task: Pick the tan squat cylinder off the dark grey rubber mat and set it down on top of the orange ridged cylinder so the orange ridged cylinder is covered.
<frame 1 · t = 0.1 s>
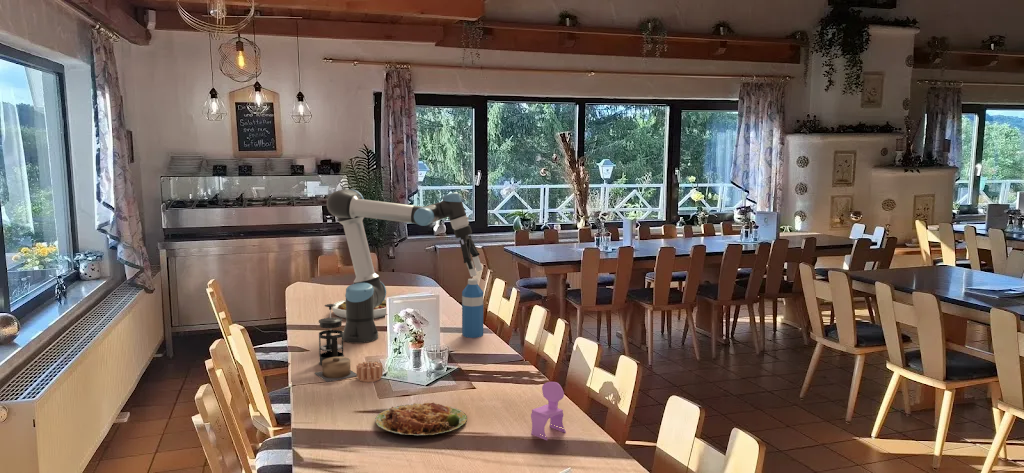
hand: (476, 273, 317), 28 cm above the table, tool tilted 20°, fingers open, 13 cm apart
toy chair: (548, 434, 212), on the table
bowl 2: (363, 314, 361), on the table
water bottle: (472, 335, 321), on the table
tan squat cylinder: (336, 373, 265), resting on mat
mat: (336, 374, 265), on the table
rice dish: (421, 424, 220), on the table
orange ridged cylinder: (369, 378, 261), on the table
french press: (332, 363, 279), on the table
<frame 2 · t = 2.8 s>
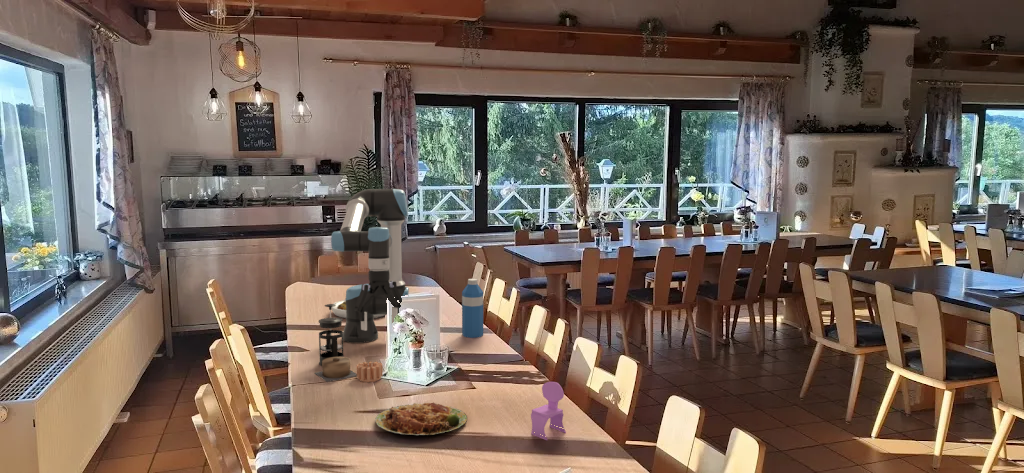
hand: (379, 327, 265), 17 cm above the table, tool pointing down, fingers open, 13 cm apart
nothing on the table moved.
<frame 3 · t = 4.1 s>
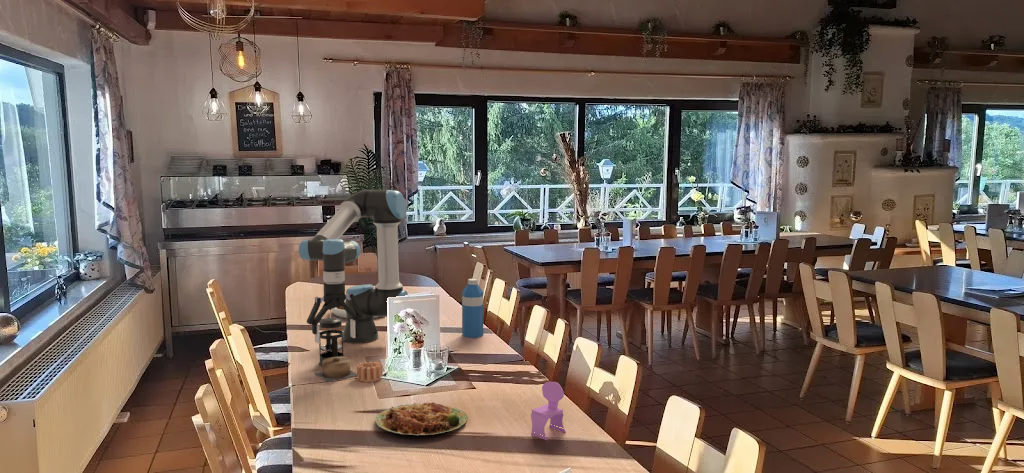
hand: (335, 339, 263), 13 cm above the table, tool pointing down, fingers open, 13 cm apart
nothing on the table moved.
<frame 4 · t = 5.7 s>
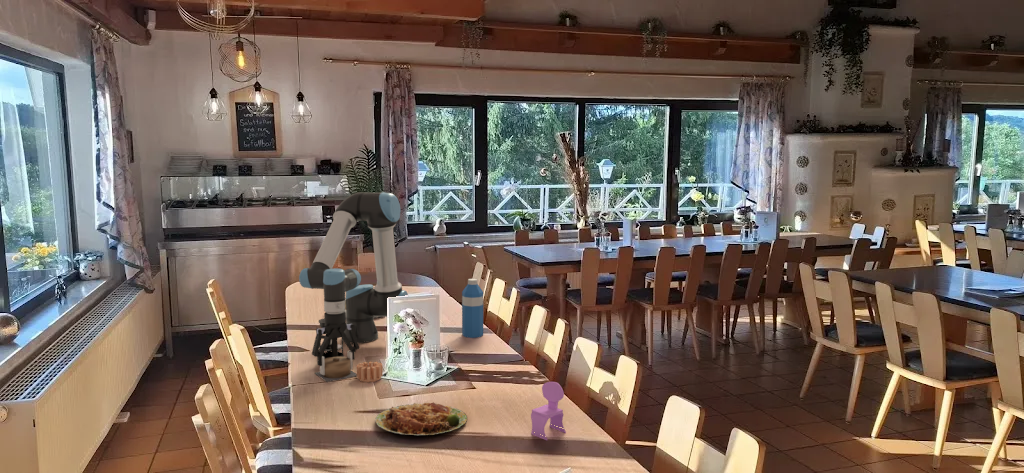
hand: (336, 371, 265), 1 cm above the table, tool pointing down, fingers closed on tan squat cylinder, 10 cm apart
tan squat cylinder: (336, 373, 265), resting on mat, touching gripper
everything else where it was.
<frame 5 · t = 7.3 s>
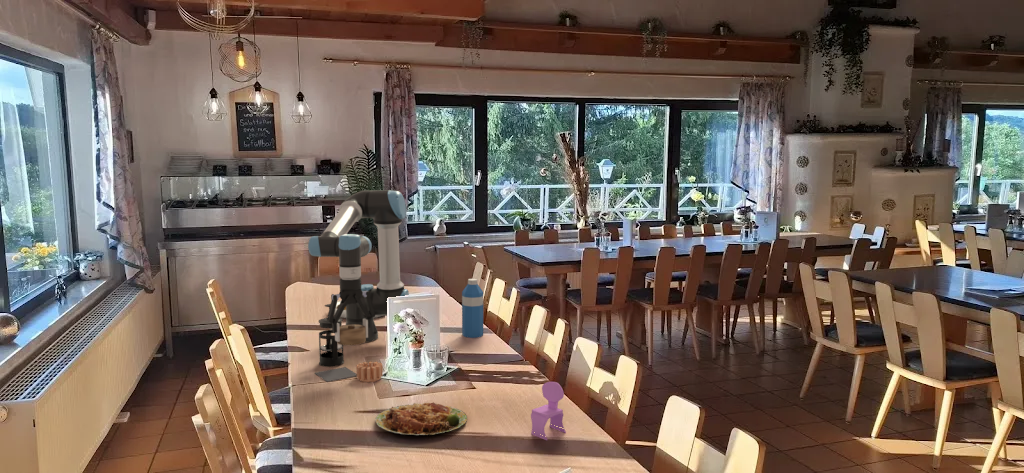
hand: (351, 338, 261), 14 cm above the table, tool pointing down, fingers closed on tan squat cylinder, 10 cm apart
tan squat cylinder: (351, 341, 261), point 13 cm above the table, touching gripper
everything else where it was.
when the fingers open (7 cm above the table, at t = 9.1 s): tan squat cylinder drops 1 cm, resting on orange ridged cylinder.
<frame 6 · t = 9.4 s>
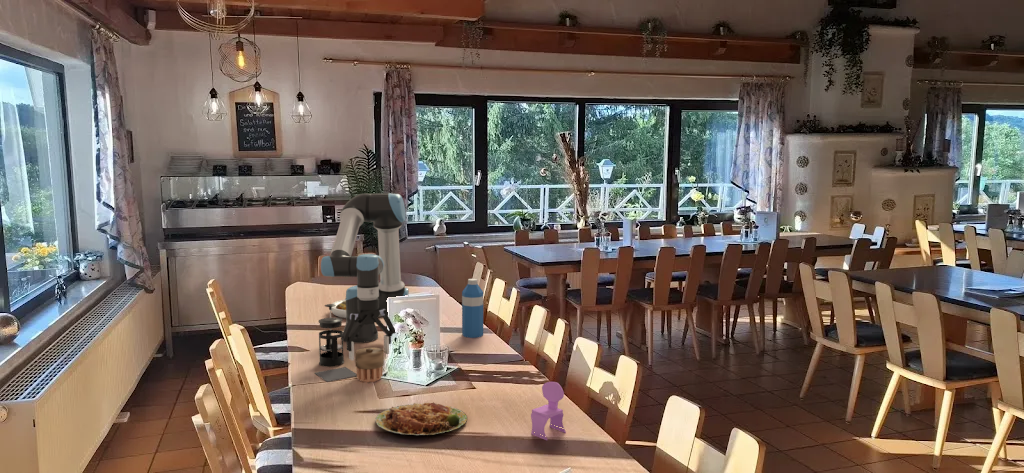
hand: (369, 356, 260), 8 cm above the table, tool pointing down, fingers open, 13 cm apart
tan squat cylinder: (369, 365, 260), point 5 cm above the table, touching orange ridged cylinder
everything else where it was.
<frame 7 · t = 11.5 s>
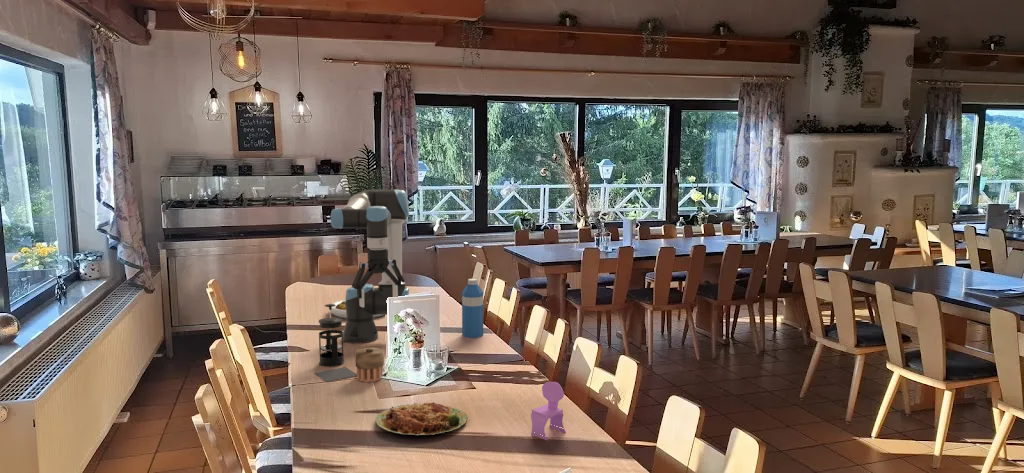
hand: (378, 304, 272), 24 cm above the table, tool pointing down, fingers open, 13 cm apart
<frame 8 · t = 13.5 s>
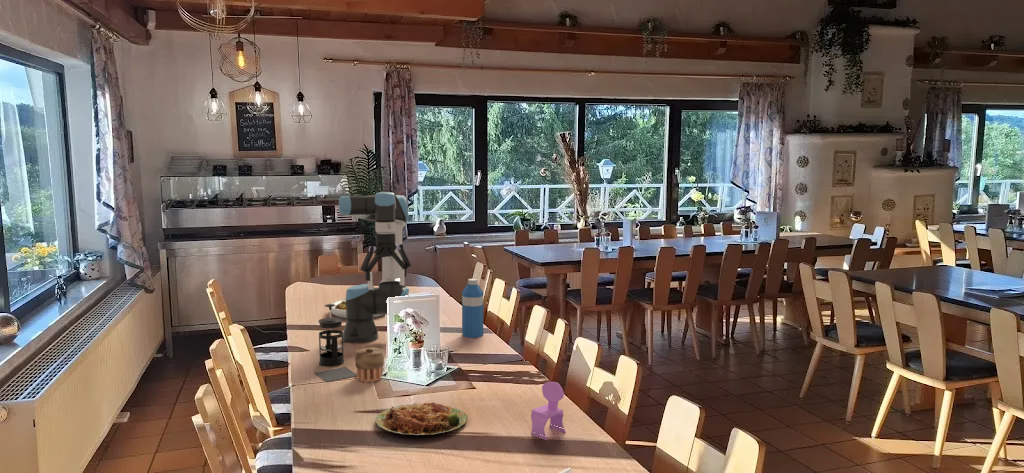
hand: (386, 287, 281), 29 cm above the table, tool pointing down, fingers open, 13 cm apart
at the end: tan squat cylinder 0.1 cm off-centre on the orange ridged cylinder, point 5.0 cm above the orange ridged cylinder's base; tan squat cylinder tilted 0°; the gripper is holding nothing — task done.
